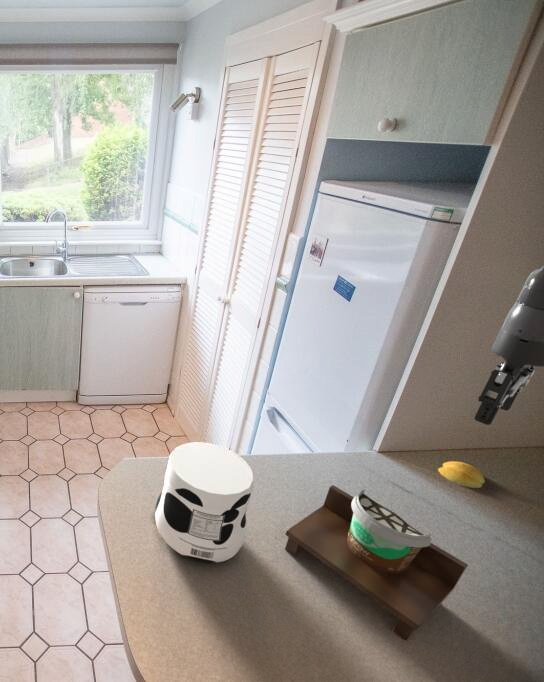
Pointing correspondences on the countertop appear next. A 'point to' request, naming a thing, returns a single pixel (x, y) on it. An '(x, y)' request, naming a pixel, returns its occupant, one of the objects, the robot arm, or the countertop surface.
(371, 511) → the food container
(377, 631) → the countertop surface
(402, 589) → the shelf
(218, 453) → the milk container
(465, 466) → the yellow ridged fruit
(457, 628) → the countertop surface
